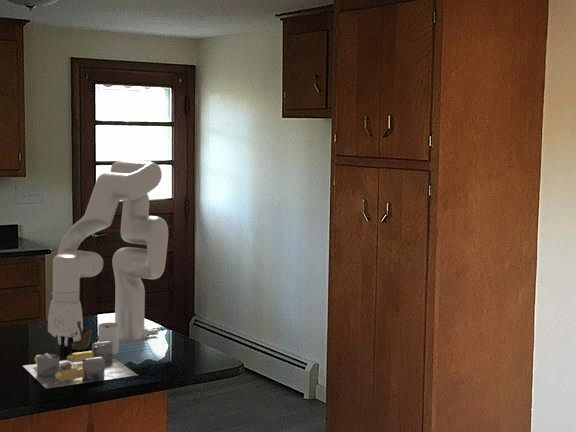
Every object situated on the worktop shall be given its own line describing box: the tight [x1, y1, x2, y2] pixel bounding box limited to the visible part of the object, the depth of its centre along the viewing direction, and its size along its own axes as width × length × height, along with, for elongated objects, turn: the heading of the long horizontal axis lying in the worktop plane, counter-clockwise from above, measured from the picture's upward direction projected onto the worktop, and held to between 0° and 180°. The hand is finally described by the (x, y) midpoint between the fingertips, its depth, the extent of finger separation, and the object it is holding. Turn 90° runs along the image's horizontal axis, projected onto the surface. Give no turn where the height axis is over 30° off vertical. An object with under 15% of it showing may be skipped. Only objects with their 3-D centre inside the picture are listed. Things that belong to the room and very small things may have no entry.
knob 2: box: [66, 341, 114, 363], centre depth 242 cm, size 14×6×6 cm, turn 123°
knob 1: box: [34, 352, 60, 378], centre depth 232 cm, size 14×6×6 cm, turn 33°
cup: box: [72, 325, 92, 352], centre depth 255 cm, size 8×7×8 cm
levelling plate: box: [22, 357, 138, 389], centre depth 234 cm, size 26×23×2 cm
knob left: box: [55, 357, 105, 382], centre depth 225 cm, size 14×6×6 cm, turn 123°
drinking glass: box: [97, 322, 120, 355], centre depth 253 cm, size 7×7×10 cm
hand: (66, 357), depth 242 cm, fingers closed
